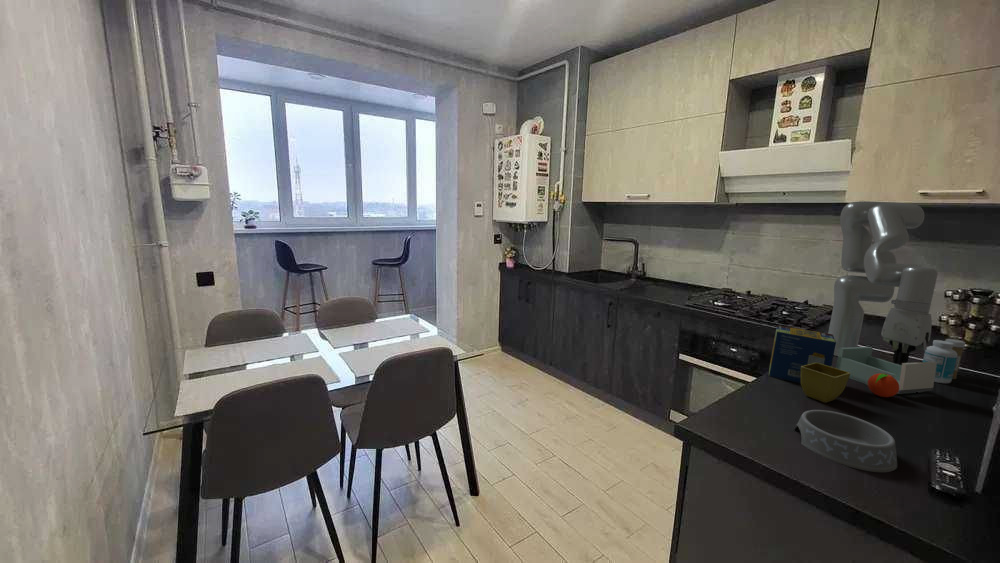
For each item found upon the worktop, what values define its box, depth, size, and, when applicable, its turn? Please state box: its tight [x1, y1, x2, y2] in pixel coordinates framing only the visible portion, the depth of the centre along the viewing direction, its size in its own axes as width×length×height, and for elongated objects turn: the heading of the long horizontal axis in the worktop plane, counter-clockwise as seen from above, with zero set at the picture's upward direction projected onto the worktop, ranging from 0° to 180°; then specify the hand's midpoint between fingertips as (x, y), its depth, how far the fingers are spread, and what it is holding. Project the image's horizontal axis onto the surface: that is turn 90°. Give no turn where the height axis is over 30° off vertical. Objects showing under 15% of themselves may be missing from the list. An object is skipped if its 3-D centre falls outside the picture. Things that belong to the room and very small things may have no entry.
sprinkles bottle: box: [944, 338, 966, 380], centre depth 139 cm, size 5×5×13 cm
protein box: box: [768, 324, 836, 384], centre depth 131 cm, size 10×15×16 cm
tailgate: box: [898, 361, 937, 394], centre depth 122 cm, size 1×13×9 cm, turn 104°
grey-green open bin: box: [835, 346, 925, 395], centre depth 131 cm, size 17×13×9 cm
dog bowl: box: [794, 409, 898, 473], centre depth 91 cm, size 17×18×5 cm
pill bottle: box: [922, 339, 958, 384], centre depth 136 cm, size 8×7×14 cm
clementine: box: [867, 373, 899, 398], centre depth 120 cm, size 8×7×7 cm
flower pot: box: [800, 363, 850, 403], centre depth 116 cm, size 9×9×9 cm
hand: (899, 363), depth 126 cm, fingers closed
